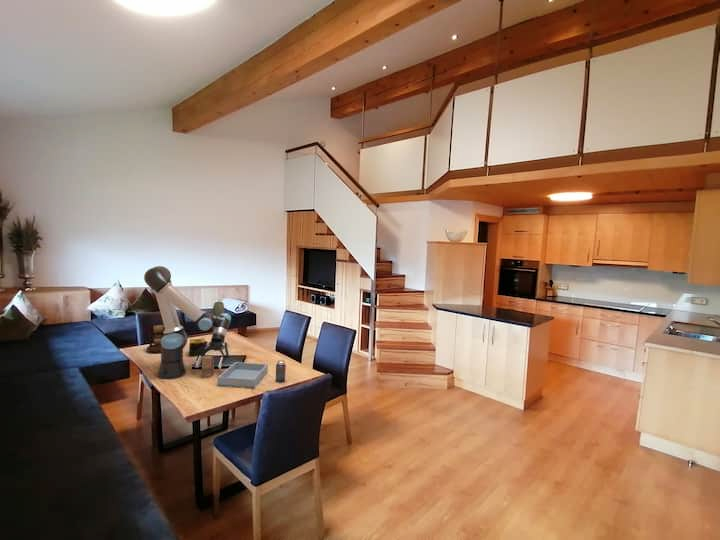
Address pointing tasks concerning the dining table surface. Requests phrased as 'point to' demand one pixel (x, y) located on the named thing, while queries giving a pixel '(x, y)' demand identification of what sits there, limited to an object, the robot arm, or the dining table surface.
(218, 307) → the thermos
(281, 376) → the pepper mill
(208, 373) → the walnut block
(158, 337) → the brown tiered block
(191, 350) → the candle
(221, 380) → the tray
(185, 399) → the dining table surface
